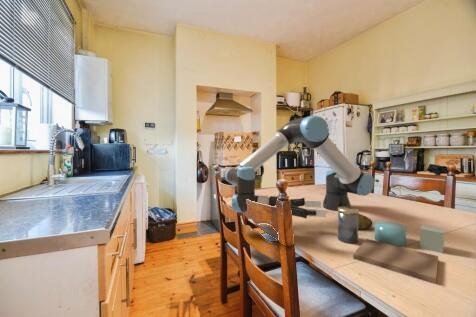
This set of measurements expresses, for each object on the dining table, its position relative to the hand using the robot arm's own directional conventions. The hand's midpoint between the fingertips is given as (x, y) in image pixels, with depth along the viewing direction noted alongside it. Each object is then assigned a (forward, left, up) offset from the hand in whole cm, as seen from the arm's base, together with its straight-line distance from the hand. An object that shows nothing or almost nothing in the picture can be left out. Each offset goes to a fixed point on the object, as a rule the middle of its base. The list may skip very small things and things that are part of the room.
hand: (323, 208), depth 87 cm
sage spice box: (+32, +17, -12) cm, 38 cm away
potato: (+6, +21, -12) cm, 25 cm away
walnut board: (+24, -1, -12) cm, 27 cm away
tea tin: (+8, +5, -12) cm, 15 cm away
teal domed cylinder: (+20, +15, -12) cm, 27 cm away
